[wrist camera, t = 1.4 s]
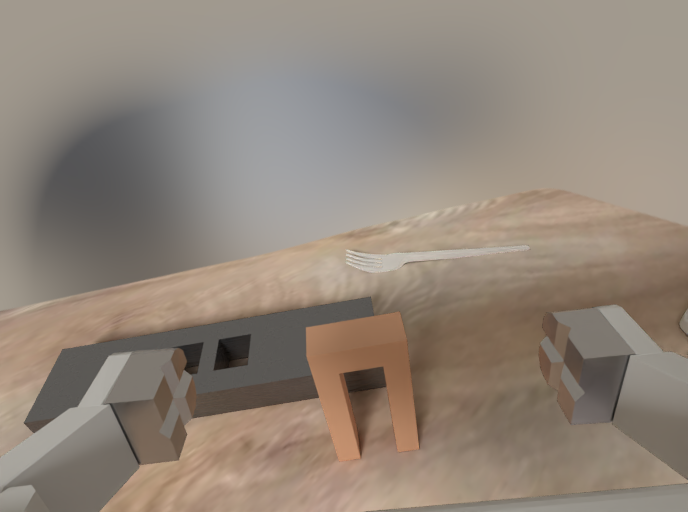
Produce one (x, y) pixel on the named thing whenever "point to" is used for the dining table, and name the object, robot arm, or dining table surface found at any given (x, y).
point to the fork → (419, 257)
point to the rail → (218, 362)
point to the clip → (358, 354)
